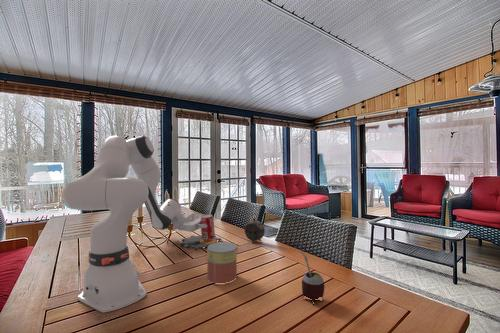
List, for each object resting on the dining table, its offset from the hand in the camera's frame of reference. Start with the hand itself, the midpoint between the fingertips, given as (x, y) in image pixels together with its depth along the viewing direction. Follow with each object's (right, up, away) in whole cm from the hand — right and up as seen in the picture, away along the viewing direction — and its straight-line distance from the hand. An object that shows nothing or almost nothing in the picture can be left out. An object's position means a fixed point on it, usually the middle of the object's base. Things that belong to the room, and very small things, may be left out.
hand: (209, 224), depth 137 cm
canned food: (+11, -12, -39) cm, 43 cm away
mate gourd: (+42, -12, -54) cm, 70 cm away
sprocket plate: (-5, -10, +1) cm, 12 cm away
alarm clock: (+24, -11, +2) cm, 26 cm away
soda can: (-1, -9, +3) cm, 9 cm away
